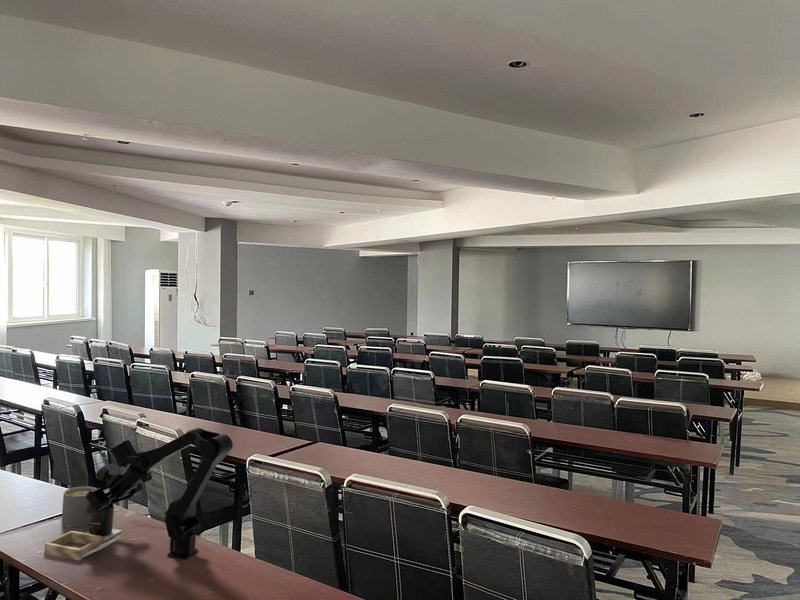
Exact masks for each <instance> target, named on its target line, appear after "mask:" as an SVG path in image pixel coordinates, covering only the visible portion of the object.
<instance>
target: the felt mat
mask: <svg viewBox="0 0 800 600" xmlns="http://www.w3.org/2000/svg"><path fill="white" fill-rule="evenodd" d="M122 532H123V530H121V529H116V528H113V529H112V533H111V534H109V535H108V536H104V537H105V541H104V542H107V541H109V539H111V538H114V537H115V536H117V535H118V534H121V533H122ZM85 533H87V534H89V530H88V531H86V532H85Z"/></svg>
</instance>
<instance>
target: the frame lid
mask: <svg viewBox="0 0 800 600" xmlns="http://www.w3.org/2000/svg"><path fill="white" fill-rule="evenodd" d="M121 538H123V536H122V535H119V536H117V537H115V538H112V539H111V540H107V541H105V542H104V544H102V545H100V546H98V547H96V548H94V549H93V550H91V551H89V552H87V553H85V554H84V555H82V556H81V558H83V557H85V556H87V555H88V556H90V555H92V554H94V553H95V552H98V551H100V550H102V549H104V548H105V547H107V546H109V545H111V544H113V543H114V542H116V541H118V540H120V539H121ZM93 552H94V553H93ZM91 553H92V554H91ZM89 554H90V555H89ZM88 556H87V557H88ZM85 558H86V557H85ZM83 559H84V558H83Z"/></svg>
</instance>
